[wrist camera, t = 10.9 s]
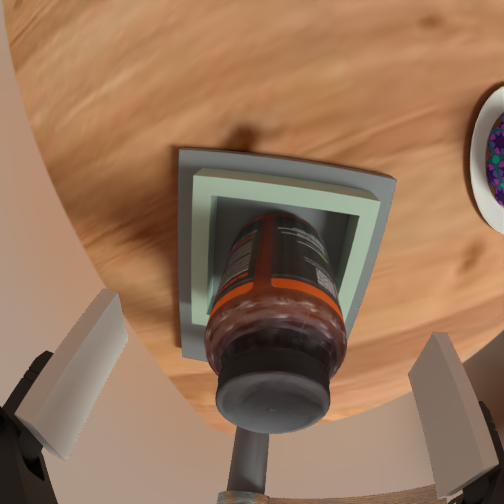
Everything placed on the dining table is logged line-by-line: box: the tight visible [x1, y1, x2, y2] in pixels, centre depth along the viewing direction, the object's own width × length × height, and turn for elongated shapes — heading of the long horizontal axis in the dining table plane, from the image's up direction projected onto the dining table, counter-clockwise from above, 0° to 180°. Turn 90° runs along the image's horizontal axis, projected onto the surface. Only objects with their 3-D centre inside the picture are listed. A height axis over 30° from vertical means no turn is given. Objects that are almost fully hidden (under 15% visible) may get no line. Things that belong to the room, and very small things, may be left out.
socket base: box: [177, 147, 397, 495], centre depth 16 cm, size 17×13×13 cm
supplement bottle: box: [204, 213, 347, 434], centre depth 14 cm, size 6×6×11 cm
